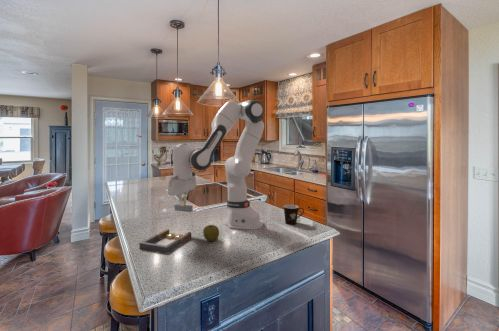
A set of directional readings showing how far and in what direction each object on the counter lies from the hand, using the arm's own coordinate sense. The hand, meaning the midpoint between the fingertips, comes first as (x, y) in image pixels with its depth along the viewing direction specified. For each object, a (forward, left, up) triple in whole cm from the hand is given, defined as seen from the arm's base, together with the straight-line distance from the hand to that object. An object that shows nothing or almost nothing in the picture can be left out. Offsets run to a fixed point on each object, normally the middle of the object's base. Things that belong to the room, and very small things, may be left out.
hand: (183, 200), depth 140 cm
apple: (-20, +6, -17) cm, 27 cm away
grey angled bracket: (-1, +20, -17) cm, 26 cm away
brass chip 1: (+2, +9, -17) cm, 20 cm away
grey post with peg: (0, 0, -6) cm, 6 cm away
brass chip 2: (-3, +9, -17) cm, 20 cm away
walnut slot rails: (-1, +10, -17) cm, 20 cm away
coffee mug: (-53, -33, -17) cm, 65 cm away
